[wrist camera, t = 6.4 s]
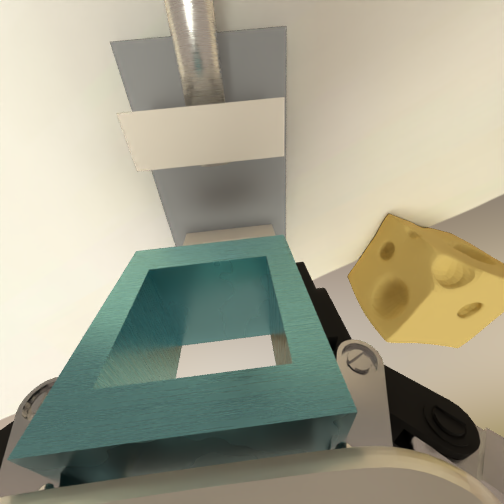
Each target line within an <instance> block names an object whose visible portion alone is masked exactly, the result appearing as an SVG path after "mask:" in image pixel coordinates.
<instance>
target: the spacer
mask: <svg viewBox="0 0 504 504" xmlns="http://www.w3.org/2000/svg"><path fill="white" fill-rule="evenodd" d="M269 334H271V340H272V345H273V351H274V356H275V361H276V366H270V367H262V368H254V369H246V370H238V371H231V372H223V373H216V374H207V375H200V376H193V377H184V378H177V379H176V373H177V368H178V363H179V358H180V352H181V347H182V345H190V344H198V343H205V342H214V341H222V340H230V339H237V338H246V337H254V336H262V335H269ZM357 413H358V411H357V409H356V407H355V404H354V402H353V399H352V397H351V395H350V392H349V390H348V387H347V385H346V383H345V380H344V378H343V375H342V373H341V371H340V368H339V366H338V363H337V361H336V359H335V356H334V354H333V352H332V349H331V347H330V344H329V342H328V340H327V337H326V335H325V332H324V330H323V328H322V325H321V323H320V320H319V318H318V316H317V313H316V311H315V308H314V306H313V304H312V301H311V299H310V296H309V294H308V292H307V289H306V287H305V284H304V282H303V280H302V277H301V275H300V272H299V270H298V268H297V265H296V263H295V261H294V258H293V256H292V253H291V251H290V249H289V246H288V244H287V241H286V239H285V237H284V235H275V236H266V237H258V238H249V239H240V240H231V241H222V242H213V243H205V244H196V245H187V246H178V247H169V248H160V249H152V250H143V251H136V253H135V254H134V256H133V258H132V259H131V261H130V262H129V264H128V266H127V267H126V269H125V270H124V272H123V274H122V275H121V277H120V279H119V280H118V282H117V283H116V285H115V287H114V288H113V290H112V291H111V293H110V295H109V296H108V298H107V299H106V301H105V303H104V304H103V306H102V308H101V309H100V311H99V312H98V314H97V316H96V317H95V319H94V320H93V322H92V324H91V325H90V327H89V328H88V330H87V332H86V333H85V335H84V336H83V338H82V340H81V341H80V343H79V345H78V346H77V348H76V349H75V351H74V353H73V354H72V356H71V357H70V359H69V361H68V362H67V364H66V365H65V367H64V369H63V370H62V372H61V374H60V375H59V377H58V378H57V380H56V382H55V383H54V385H53V386H52V388H51V390H50V391H49V393H48V394H47V396H46V398H45V399H44V401H43V403H42V404H41V406H40V407H39V409H38V411H37V412H36V414H35V415H34V417H33V419H32V420H31V422H30V423H29V425H28V427H27V428H26V430H25V432H24V433H23V435H22V436H21V438H20V440H19V441H18V443H17V444H16V446H15V448H14V449H13V451H12V452H11V454H10V456H9V457H8V459H7V460H8V461H11V462H13V463H15V464H17V465H20V466H22V467H24V468H26V469H29V470H31V471H33V472H35V473H38V474H40V475H42V476H46V475H53V474H60V473H61V474H63V475H65V476H67V477H69V478H70V479H72V480H74V481H76V482H78V483H80V484H86V483H93V482H99V481H106V480H113V479H120V478H127V477H134V476H141V475H148V474H155V473H162V472H169V471H176V470H183V469H190V468H197V467H204V466H211V465H218V464H225V463H232V462H240V461H247V460H254V459H262V458H269V457H276V456H284V455H291V454H298V453H306V452H315V451H323V450H328V447H329V444H330V439H331V436H333V435H340V434H347V433H349V431H350V429H351V426H352V424H353V422H354V419H355V417H356V415H357Z"/></svg>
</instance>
